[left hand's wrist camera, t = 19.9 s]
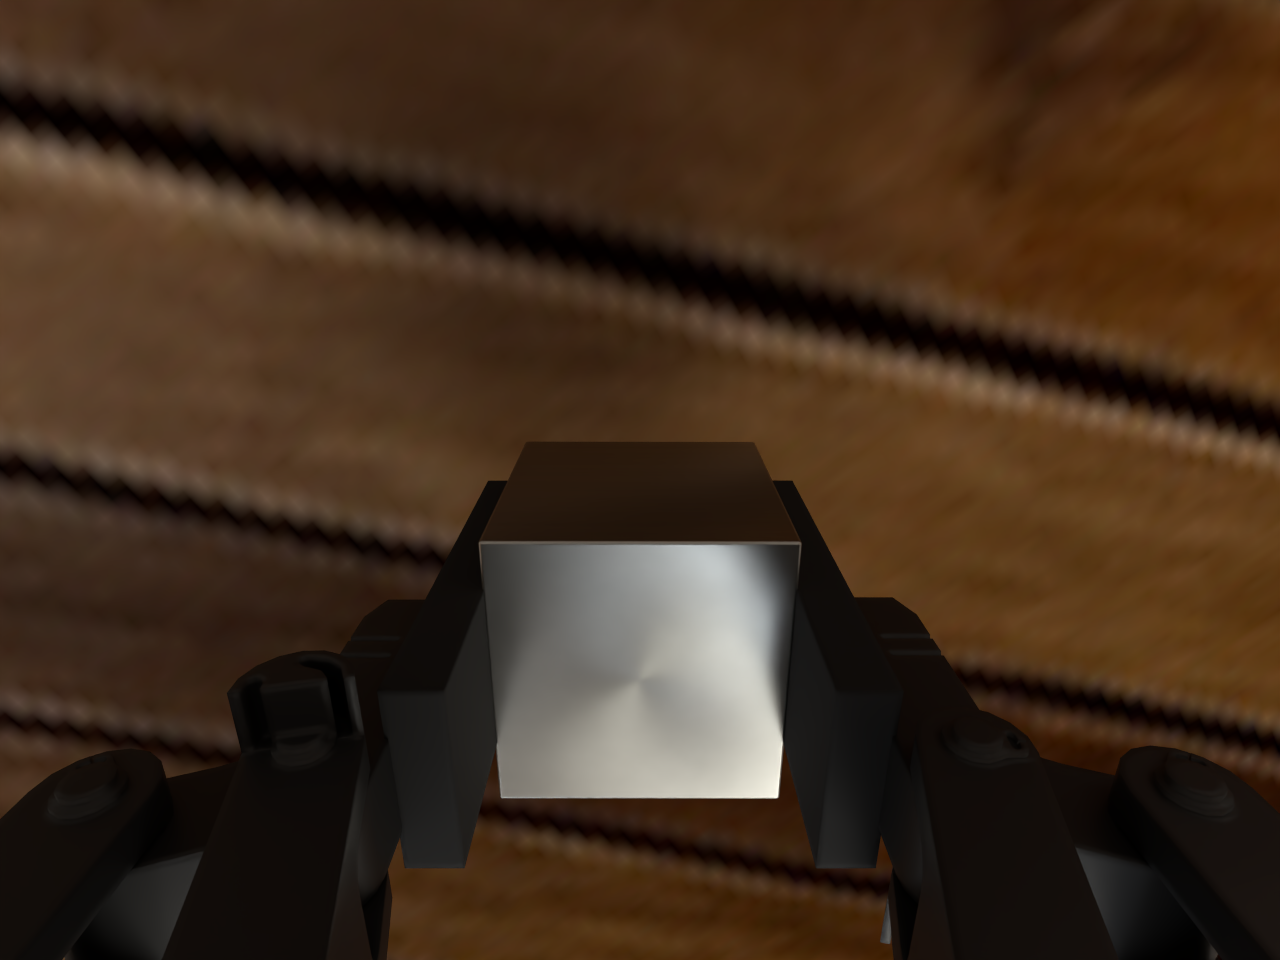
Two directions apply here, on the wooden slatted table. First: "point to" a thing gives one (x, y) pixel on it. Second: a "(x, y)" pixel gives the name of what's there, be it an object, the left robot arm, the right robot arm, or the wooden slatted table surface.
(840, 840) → the left robot arm
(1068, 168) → the wooden slatted table surface
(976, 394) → the wooden slatted table surface
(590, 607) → the block
